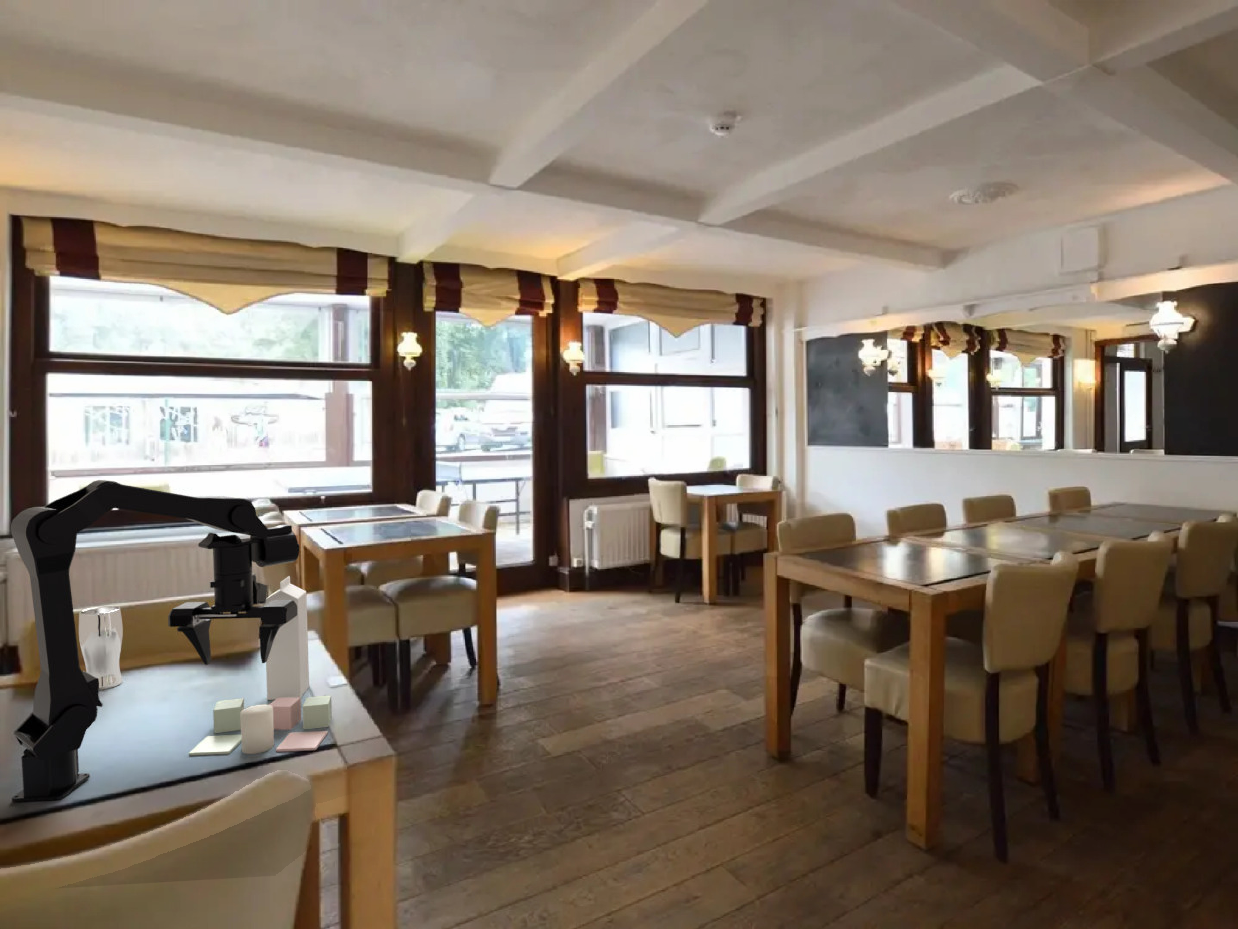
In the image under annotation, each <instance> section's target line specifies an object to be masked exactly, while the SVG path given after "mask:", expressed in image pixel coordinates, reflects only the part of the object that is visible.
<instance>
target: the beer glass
mask: <svg viewBox="0 0 1238 929" xmlns="http://www.w3.org/2000/svg"><path fill="white" fill-rule="evenodd" d="M123 632H124V628H123V618H122V612H121V607H120V605H119V606H118V605H105V606H104V605H103V606H95V607H90V608H86V609H83V610H81V611H79V612H78V638H79V639H78V640H79V644H80V649H81V654H82V657H83V660H84V664H85V670H86V671H85V672H87V673H89V674H90V675H92V676H94V677H96V678H98V679H99V691H104V690H109V689H112V688H116V687H117V686H119V685H121V684H122V683H123V676H122V674H121V669H120V657H121V650H122V644H123V638H124V637H123V634H124V633H123Z"/></svg>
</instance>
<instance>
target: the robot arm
mask: <svg viewBox="0 0 1238 929" xmlns="http://www.w3.org/2000/svg"><path fill="white" fill-rule="evenodd" d="M113 509H118V510H119V509H121V510H128V511H132V512H133V511H134V512H139V513H145V514H146V513H147V514H153V515H161V516H166V517H173V518H180V519H186V520H189V521H192V522H194V523H196V524H199V525H202V526H205V527H209V528H211V529H214V530H217V531H223V532H228V533H229V532H230V533H235V534H229V535H220V536H219V534H218V533H216V532H208V533H207V535H206V537H205V538H202V540H201V541H199V543H197V544H198V547H199V548H202V549H207V550H212V561H213V563H212V564H213V567H212V568H213V580H210V582H209V587H210V589H211V588H212V589H213V590H214V591H213V592H214V595H213V596H214V597H213V598H214V604H213V605H212V606H210V604H209V603H208V602H207V601H189V602H188V601H185V602H184V603H182V604H180V605H177V606H176V607H174V608H172V609H171V610H170V611H169V613H168V616H167V623H168V627H170V628H173V627H174V628H176V627H177V628H176V631H177V632H180V633H181V632H182V633H183V634H184V636H185V637H186V638H187V640H188V641H189V642H190V643H191V645H192V647H194V649H195V651H196V653H197V654H198V656H199V657H200V659H201V661H202V662H203V663H204V665H205V666H207V665H210V664H211V660H212V658H211V657H212V652H211V641H210V626H211V624H212V620H216V619H218V620H222V619H223V620H226V619H229V620H230V619H260V621H261V622H262V625H260V626H259V627H258V628H259V651H260V654H259V655H260V659H261V663H262V664H266V661H267V659H268V656H269V653H270V650H271V647H272V644H273V641H274V638H275V636H276V634H277V632H278V630H279V628H280V627H281V626H283V625H284V624H285V623H287V622H289V621H290V620H291V619H293V618H294V617H296V616H297V615H298V613H297V604H296V603H295V602H294V601H293V600H273V601H271V602H270V603H268V604H266V605H265V606H264V603H266V598H267V594H268V585H267V584H263V583H260V582H257V576H256V573H253V563H255V564H256V566H258V567H260V568H264V567H266V568H267V567H270V566H271V567H272V566H276V565H281V564H282V565H283V564H288V563H289V564H290V563H294V562H295V561H297V559H298V558H299V555H300V544H299V542H298V539H297V537H296V534H295V533H294V532H293V526H292V525H291V524H279V525H276V526H273V527H272V526H271V527H267V526H266V525H265V524H264V522H263V521H262V520H261V519H260V517H258V516H257V512H256V507H255V506H254V504H253V502H252V501H250V500H249V499H245V498H241V497H234V496H233V497H232V496H224V495H223V496H222V495H221V496H220V495H219V496H217V495H216V496H213V495H209V496H207V495H206V496H203V495H202V496H201V495H200V496H191V495H190V496H189V495H184V494H178V493H174V492H172V493H171V492H167V491H162V490H156V489H150V488H145V487H139V486H132V485H127V484H122V483H119V482H117V481H115V480H114V481H113V480H106V479H98V480H94V481H92V482H90V483H89V484H88V485H85V486H84V487H82V488H80V489H78V490H77V491H74V492H71V493H69V494H66V495H63V496H62V497H60V498H58V499H55V500H54V501H53V500H52V501H51V502H49V503H48V504H46V505H44V506H33V507H30V508H25V509H23V511H21V512H19V513H18V514H17V515H16V516H15V517H14V518H13V519H12V521H11V524H10V525H11V526H10V533H11V536H12V539H13V541H14V544H15V547H16V550H17V553H18V555H19V556H20V559H21V561H22V562H23V564H24V566H25V568H26V570H27V572H28V575H29V579H30V588H31V597H32V605H33V606H32V607H33V615H34V623H35V631H36V639H37V648H38V655H39V665H40V673H39V677H38V680H37V684H36V686H35V690H34V698H33V708H32V712H31V713H30V714H29V715H28V716H27V717H26V719H25V720H23V721H22V723H21V724H20V725H19V726H18V727H17V728H16V729H15V730H14V732H13V736H14V738H15V739H16V741H17V742H18V744H19V745H20V746H23V747H24V748H25V750H23V752H22V753H23V755H22V756H21V757H20V758H21V772H22V773H21V775H22V790H20V791H19V792H17V793H16V794H14V795H13V796H11V802H31V801H33V802H34V801H51V800H53V801H54V800H60V799H63V798H64V797H65V796H67V795H68V794H70V793H71V792H72V791H74V790H75V789H76V788H77V787H79V786H80V785H81V784H83V783H84V782H85V781H87V780H88V779H89V778H90V777H91V776H90V773H88V772H87V773H79V772H80V766H79V749H80V748H81V746H82V744H83V740H84V738H85V735H86V732H87V731H88V729H89V728H90V727H91V726H92V724H93V723H94V722H96V719H97V717H98V707H100V708H102V707H103V703H102V701H101V700H100V696H99V691H100V690H99V679H98V678H96V677H94V676H92V675H90V674H89V673H87V672H86V671H85V670H82V669H81V666H80V658H79V649H78V640H77V632H76V623H75V622H76V621H75V614H74V606H73V597H72V596H73V595H72V588H71V579H70V578H71V577H70V569H71V566H72V563H73V560H74V557H75V554H76V548H77V547H76V546H77V537H78V536H77V535H78V533H80V532H82V531H84V530H85V529H86V528H88V527H90V526H91V525H93V524H94V523H95V522H97V521H98V520H99V519H100V518H102V516H104V515H105V514H106V513H108V512H109V511H112V510H113ZM237 534H240V535H245V536H250V537H247V538H241V537H240V536H239V535H237ZM258 604H259V605H260V604H261V606H254V605H258ZM262 604H263V606H262Z"/></svg>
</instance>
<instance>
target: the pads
mask: <svg viewBox="0 0 1238 929" xmlns="http://www.w3.org/2000/svg"><path fill="white" fill-rule="evenodd" d="M328 732H329V731H328V730H323V731H322V730H321V731H302V732H301V731H300V732H299V731H295V732H289V733H288V734H287V735H286V737H285V738H284V739H283V740H282V741H281V743H280V744H279V745H278V746H277V747H276V748H275V752H300V751H301V752H302V751H303V752H304V751H316V750H317V749H318V748H319V746H320V745H321V743H322V742H323V740H324V739H325V737H326V736H327V735H328ZM240 743H241V734H226V735H224V734H223V735H207V736H205V737H204V738H203V740H201V741H200V742H199V743H198V744H197V745H196V746H195V747H194V748H192V749H191V750H190V752H188V756H205V755H206V756H209V755H210V756H211V755H230V754H231V753H232V752H233V751H234V749H235V748H237V747H238V745H240Z"/></svg>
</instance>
